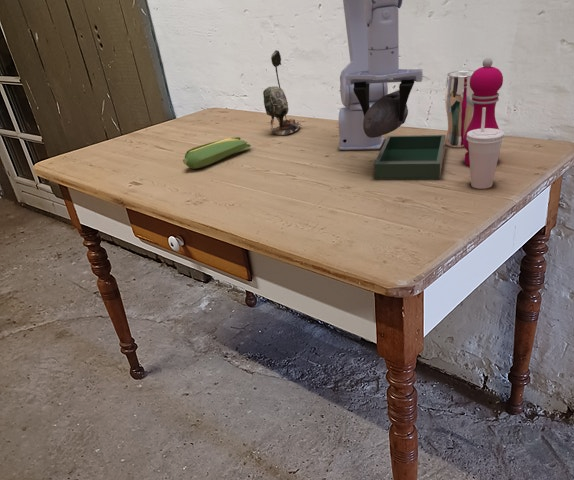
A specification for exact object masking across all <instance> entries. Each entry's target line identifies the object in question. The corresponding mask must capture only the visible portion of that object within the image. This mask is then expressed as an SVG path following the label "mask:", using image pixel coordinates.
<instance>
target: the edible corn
mask: <svg viewBox="0 0 574 480" xmlns="http://www.w3.org/2000/svg"><path fill="white" fill-rule="evenodd" d="M251 147H252V145H251V144H249V143H248V142H247V141H245V140H243V139H242V138H241V137H240V136H238V137H228V138H225V139H220V140H216V141H212V142H208V143H205V144H201V145H199V146H198V145H197V146H196V147H192V148H190V149H188V150H187V151H186V152H185V155H184V158H183V159H182V162H183V164H184V165H185V166H186V167H188V168H190V169H194V170H195V169H196V170H197V169H202V168H204V167H207V166H210V165H212V164H215V163H217V162H220V161H221V160H224V159H225V158H228V157H230V156H233V155H235V154H238V153H241V152H243V151H245V150H248V149H250V148H251Z"/></svg>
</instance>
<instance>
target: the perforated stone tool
mask: <svg viewBox="0 0 574 480" xmlns="http://www.w3.org/2000/svg"><path fill="white" fill-rule="evenodd" d="M407 104H408V103H406V107H405V112H404V119H403V121H399V110H400V95H399V89H398V90H395V91H392V92H389V93H388V94H387V95H385V96H383V97H382V98H380V99H379V100H378V101H376V102H375V103H374V104H373V105H372V106H371V107H370V108H369V109H368V111H367V112H366V114H365V117H364V120H363V129H364V132H365V134H366V135H367V136H368V137H370V138H375V137H380V136H381V137H382V136H384V135H387V134H389V133H392V132H394V131H396V130H397V129H399V128H400V127H401V126H402V125H404V124H405V123H406V121H407V118H408V115H409V109H408V108H409V107H408V105H407Z"/></svg>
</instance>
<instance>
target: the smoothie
mask: <svg viewBox="0 0 574 480" xmlns="http://www.w3.org/2000/svg"><path fill="white" fill-rule="evenodd" d="M485 113H486V107H483V108H482V123H481V129H475V130H471V131H469V132H468V133H467V138H466V139H467V141H468V145H469V160H470V166H469V173H470V184H471V185H470V186H471V187H472V188H474V189H477V190H478V189H479V190H485V189H489V188H492V186H493V185H494V181H495V175H496V171H497V165H498V161H499V157H500V152H501V147H502V142H503V141H504V139H505V131H504V130H501V129H500V128H499V129H493V128H484V127H485Z"/></svg>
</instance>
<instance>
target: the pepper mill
mask: <svg viewBox="0 0 574 480" xmlns="http://www.w3.org/2000/svg"><path fill="white" fill-rule="evenodd" d="M473 71H474V73H473V74H472V75H471V78H470V88H471V89H472V91H473V92H474V94H472V100H471V102H472V103H473V104H474V111H473V117H472V120H471V122H470V124H469V126H468V128H467V130H466V132H465V135H464V140H463V145H464V147H463V148H464V149H465V150H466V151H467V152H465V153H464V164H465V165H466V166H469V167H470V160H469V145H468V141H467V139H466V138H467V133H468V132H469V131H471V130H475V129H481V123H482V108H483V107H486V113H485V127H484V128H493V129H499V130H500V127H499V125H498V123H497V119H496V105H497V102H499V100H500V99H499V96H500V93H499V91H500V89H501V88H502V87H503V84H504V76H503V73H502V71H501V70H500V69H499V68H497V67H496V66H493V59H492V58H491V57H486V58H484V59H483V61H482V67H479V68H477V69H475V70H473Z"/></svg>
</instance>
